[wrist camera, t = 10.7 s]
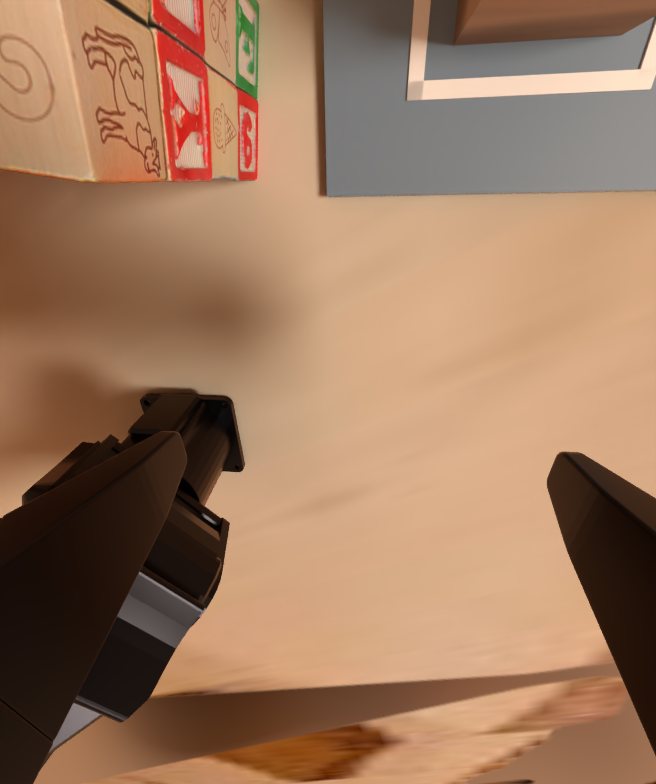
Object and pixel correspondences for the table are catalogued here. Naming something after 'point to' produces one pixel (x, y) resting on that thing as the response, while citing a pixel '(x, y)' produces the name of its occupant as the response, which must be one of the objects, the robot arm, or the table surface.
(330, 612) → the table surface
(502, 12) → the walnut base block
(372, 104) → the board
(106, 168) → the stack of blocks
